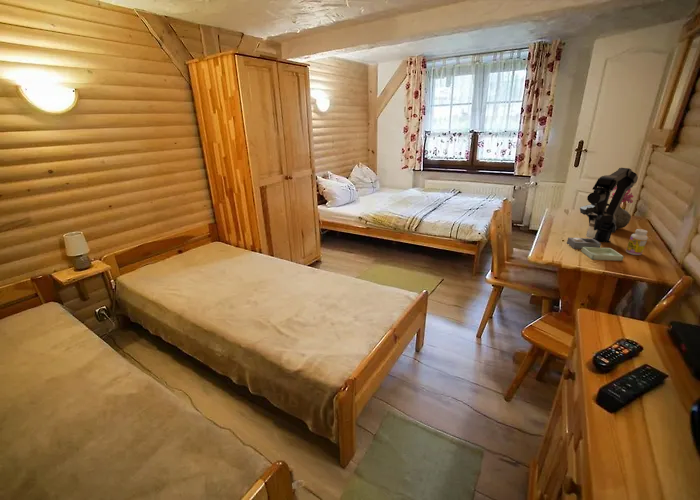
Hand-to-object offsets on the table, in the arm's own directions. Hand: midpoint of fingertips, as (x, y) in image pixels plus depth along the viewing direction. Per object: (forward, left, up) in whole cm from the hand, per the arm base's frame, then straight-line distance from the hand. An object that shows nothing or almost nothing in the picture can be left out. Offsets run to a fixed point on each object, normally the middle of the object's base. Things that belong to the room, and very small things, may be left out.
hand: (592, 228), depth 174 cm
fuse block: (+3, 0, -10) cm, 11 cm away
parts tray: (0, +13, -10) cm, 17 cm away
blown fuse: (0, 0, -4) cm, 4 cm away
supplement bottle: (-19, +7, -11) cm, 23 cm away
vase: (-30, -35, -11) cm, 47 cm away
